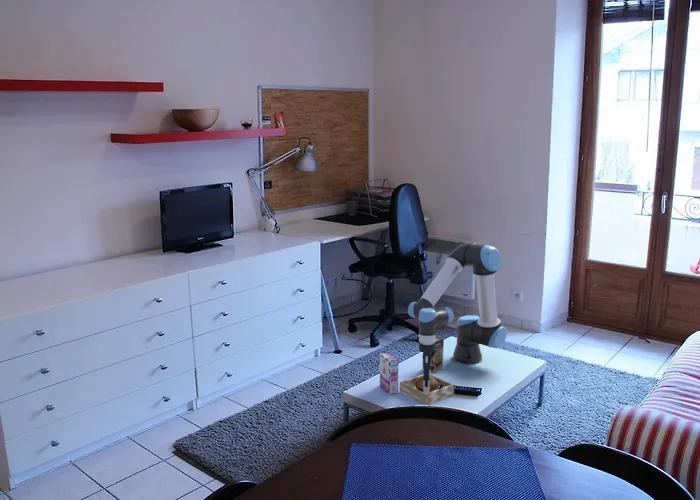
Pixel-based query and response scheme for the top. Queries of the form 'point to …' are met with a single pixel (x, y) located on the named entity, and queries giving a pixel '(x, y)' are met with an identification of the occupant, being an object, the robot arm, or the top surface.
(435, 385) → the bread roll
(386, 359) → the candy bar box
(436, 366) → the coffee box
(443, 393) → the wooden tray
